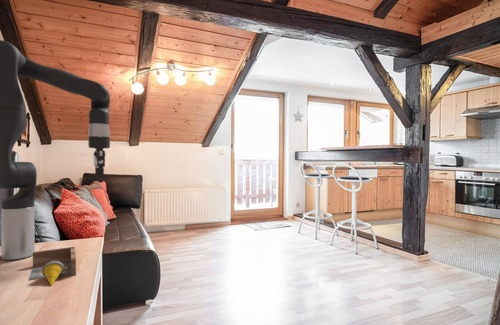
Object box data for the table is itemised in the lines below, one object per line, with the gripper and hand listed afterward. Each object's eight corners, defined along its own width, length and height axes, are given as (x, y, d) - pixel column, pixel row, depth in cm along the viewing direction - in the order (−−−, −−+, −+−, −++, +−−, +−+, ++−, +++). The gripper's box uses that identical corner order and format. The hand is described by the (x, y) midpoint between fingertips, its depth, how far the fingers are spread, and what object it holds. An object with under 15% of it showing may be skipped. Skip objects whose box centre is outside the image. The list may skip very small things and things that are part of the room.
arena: (33, 267, 98) (33, 251, 98) (74, 261, 104) (74, 246, 104) (28, 283, 85) (28, 266, 85) (75, 275, 91) (75, 259, 91)
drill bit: (66, 266, 94) (64, 289, 86) (45, 271, 92) (42, 295, 83) (62, 252, 92) (60, 275, 83) (41, 257, 89) (37, 281, 81)
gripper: (87, 136, 122) (87, 176, 122) (89, 134, 110) (89, 178, 110) (107, 137, 126) (107, 176, 126) (112, 135, 114) (112, 178, 114)
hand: (99, 177), depth 118 cm, fingers open, 8 cm apart
